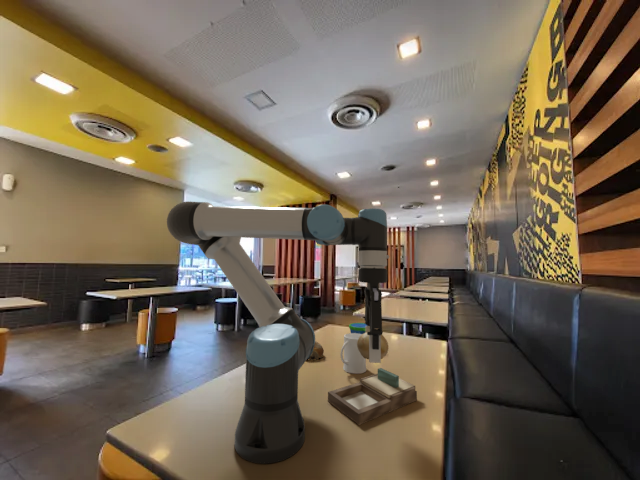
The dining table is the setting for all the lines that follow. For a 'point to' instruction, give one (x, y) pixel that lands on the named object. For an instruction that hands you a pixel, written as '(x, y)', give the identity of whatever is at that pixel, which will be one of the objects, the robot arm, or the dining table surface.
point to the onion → (364, 345)
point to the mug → (352, 355)
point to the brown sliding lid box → (367, 401)
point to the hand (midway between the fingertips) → (372, 355)
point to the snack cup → (357, 328)
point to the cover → (387, 383)
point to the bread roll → (316, 351)
